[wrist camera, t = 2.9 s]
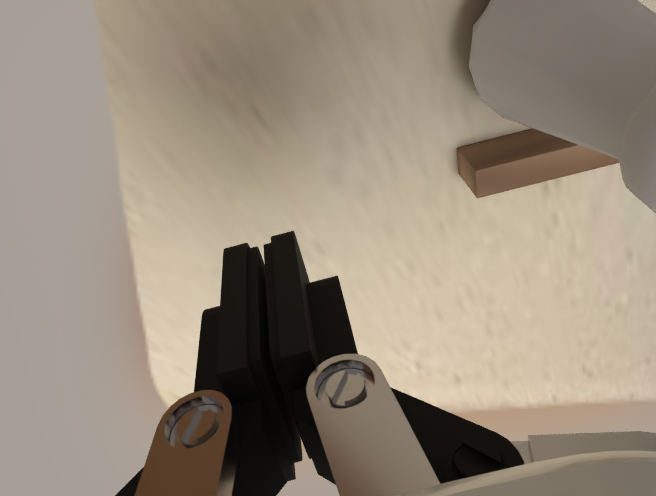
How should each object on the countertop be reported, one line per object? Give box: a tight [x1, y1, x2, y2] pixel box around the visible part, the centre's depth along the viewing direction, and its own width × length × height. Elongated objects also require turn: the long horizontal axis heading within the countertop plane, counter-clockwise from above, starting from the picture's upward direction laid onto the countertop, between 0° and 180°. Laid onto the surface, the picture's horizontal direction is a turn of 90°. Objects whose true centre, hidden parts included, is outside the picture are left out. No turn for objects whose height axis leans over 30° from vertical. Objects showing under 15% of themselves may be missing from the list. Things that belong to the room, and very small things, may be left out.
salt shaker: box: [469, 0, 656, 213], centre depth 17 cm, size 6×6×13 cm
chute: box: [457, 129, 620, 198], centre depth 20 cm, size 12×14×5 cm
